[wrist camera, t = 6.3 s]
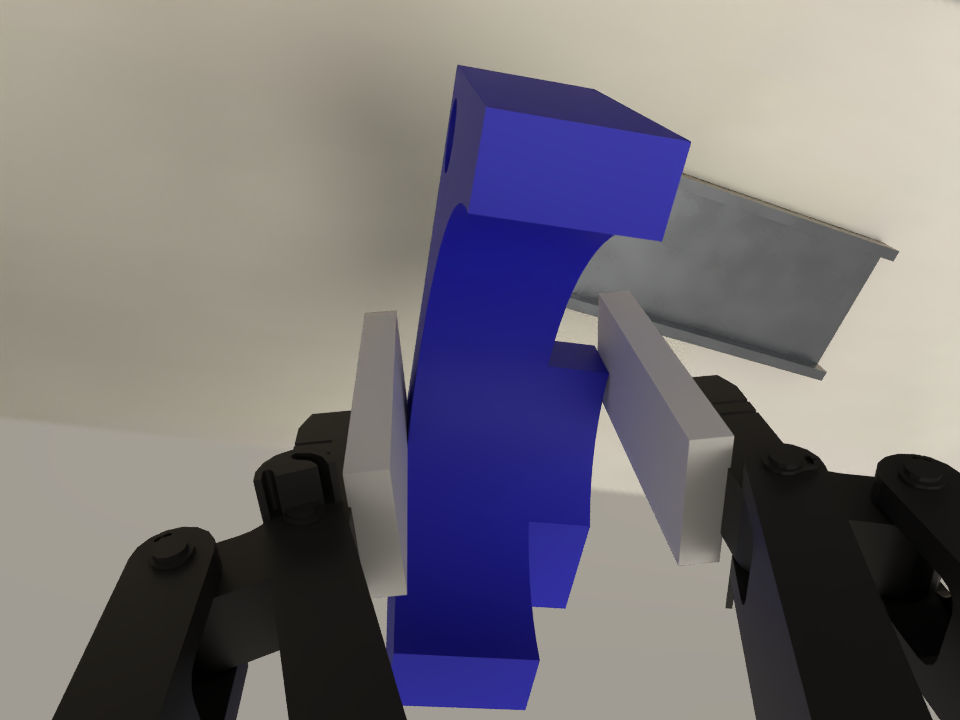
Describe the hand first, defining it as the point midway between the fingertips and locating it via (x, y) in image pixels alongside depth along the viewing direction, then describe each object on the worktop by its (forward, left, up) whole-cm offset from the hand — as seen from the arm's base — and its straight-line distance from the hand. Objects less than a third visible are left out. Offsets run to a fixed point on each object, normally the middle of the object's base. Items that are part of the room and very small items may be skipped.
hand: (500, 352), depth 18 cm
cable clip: (0, 0, 0) cm, 1 cm away
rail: (+13, 0, -15) cm, 20 cm away
